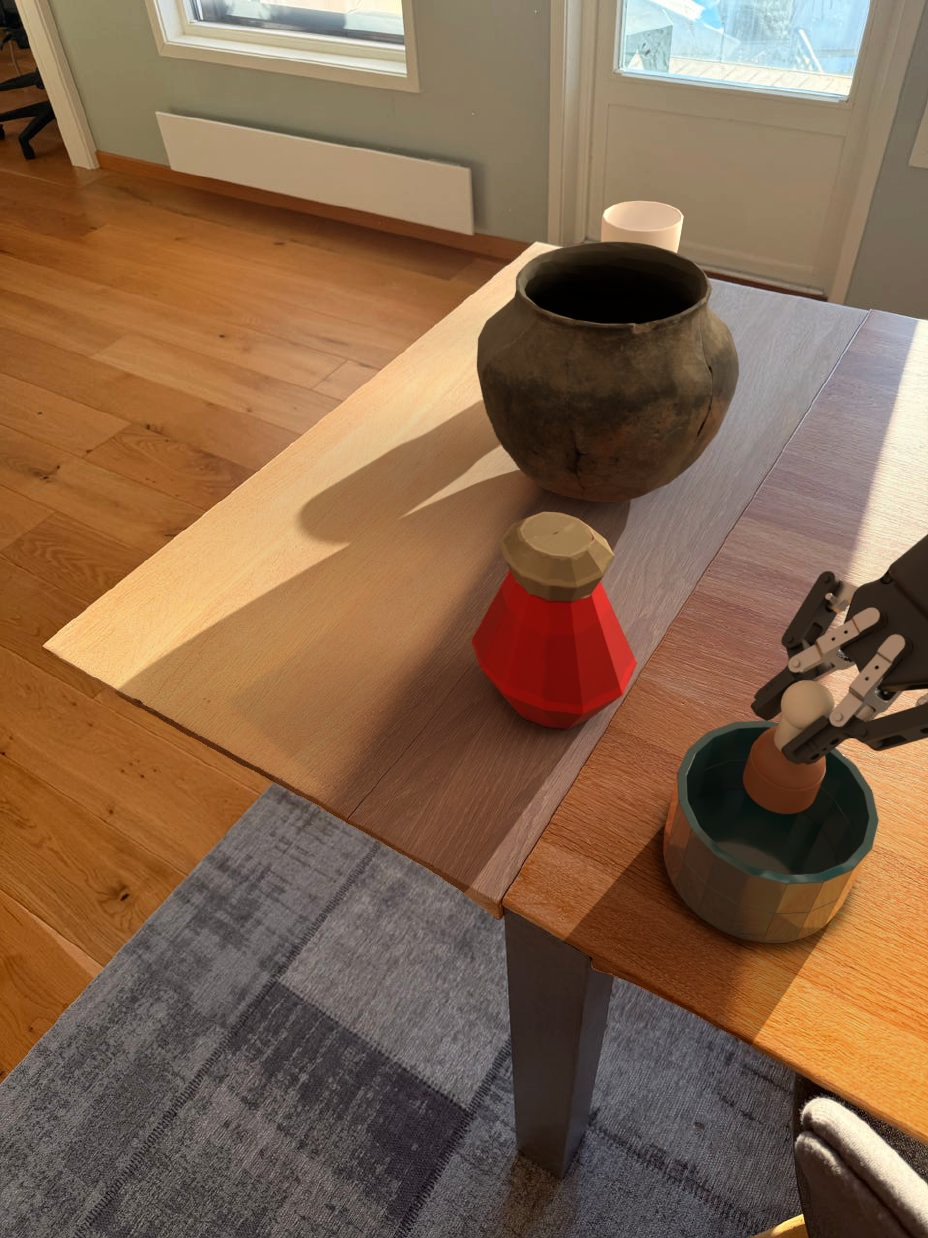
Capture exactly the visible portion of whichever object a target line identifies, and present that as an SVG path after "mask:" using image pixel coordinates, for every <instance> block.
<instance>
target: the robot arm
mask: <svg viewBox="0 0 928 1238" xmlns="http://www.w3.org/2000/svg"><path fill="white" fill-rule="evenodd" d="M846 611H847V612H846ZM842 612H846V614H845V615H846V616H845V618H844V621H843V624H840V625H839V626H838V627H835V628H834V629H832V630H829V628H830V627H831V625H832V623H833V622H834V620H835V618H836V616H837V615H838V614H839V613H842ZM828 630H829V632H828ZM780 642H781V645H782V646H783V647H784V648H785V650H786V654H787V657H788V662H787V665H786V666H785V668H783V669H782V670H781V671H779V672H778V673H776V675H775V676H774V677H772V678H771V679H770V680H769V681H768V682H767V683H765V684H764V685H763V686H762V687H760V688H759V689H758V690H757V691H756V692H755V694H754V696H753V699H754V701H753V702H751V704H750V706H749V707H750V710H752V711H753V713H754V715H755V716H756V717H757V718H759V719H762V720H763V721H771V720H773V719H775V718H776V717H777V716H778V715H780V714H782V710H781V700H782V697H783V694H784V693H785V691H786V690H787V689H788V688H789V687H790V686H791V685H792V684H794V683H796V682H799V681H804V680H811V681H816V682H819V681H820V680H822V679H824V678H825V677H828V676H829V675H832V674H833V673H835V672H837V671H845V670H848V669H850V668H852V667H853V666H856V669H857V671H858V673H859V674H858V675H857V676H856V677H855V678H854V679H853V680H852V681H851V683H850V684H849V686H848V691H847V693H846V695H845V696H844V697H843V698H842V699H841V700H840V702H839V703H838V704H837V705H835V709H834V710H833V711H832V712H831V714H830V717H829V718H827V717H825V716H823V715H822V716H821V717H820V718H819V719H817V720H816V721H815V722H814V723H812V724H811V725H810V726H808V727H807V728H806V729H805V730H803V731H802V732H801V733H800V734H798V735H797V736H796V737H794V738H793V739H792V740H791V741H789V742H788V743H787V744H786V745H784V746H783V747H782V749H781V752H782V753H783V755H784V756H785V757H786V759H787V760H789V761H791V762H793V763H794V764H797V765H799V764H802V763H805V764H807V765H809V764H813V763H816V762H817V761H818V760H820V759H821V758H822V757H824V756H825V755H826V754H827V753H829V752H830V751H832V750H833V749H834V748H837V747H839V746H840V745H841V744H842V743H844V742H845V741H846V740H850V739H854V740H856V741H858V742H859V743H862V744H864V745H865V746H867V747H869V749H871V750H873V751H875V752H882V751H886V750H890V749H893V748H896V747H900V746H904V745H908V744H911V743H915V742H918V741H922V740H925V739H928V692H927V693H925V694H924V695H922V696H920V697H919V698H918V699H917V700H916V702H915V706H913V707H910V708H907V709H903V710H900V711H896V712H893V713H890V714H886V715H883V716H880V717H877V716H878V715H880V714H883V713H885V712H886V711H887V710H888V709H889V708H890V707H891V706H892V705H893V704H894V702H895V701H896V700H897V699H898V698H899V697H900V696H901V694H902V693H904V692H909V691H921V690H928V533H927V534H926V535H924V536H923V537H922V538H921V539H919V541H917V542H916V543H915V544H914V545H912V546H911V547H910V548H909V549H907V551H905V552H904V553H903V554H902V555H901V556H899V557H898V558H897V559H896V560H894V561H893V562H892V563H891V564H890V565H889V566H888V568H887V570H886V571H885V573H884V574H883V575H882V576H881V577H879V578H877V579H876V580H873V581H870V582H866V583H863V584H861V585H860V586H857V585H854V584H851V583H849V582H847V581H845V580H842V579H841V578H840V577H839V576H838V575H836V574H835V573H834V572H833V571H830V570H825V571H823V572H821V573H820V574H819V576H818V577H817V578H816V580H815V582H814V584H813V586H812V587H811V589H810V590H809V592H808V593H807V595H806V597H805V598H804V600H803V602H802V604H801V605H800V607H799V608H798V610H797V612H796V613H795V615H794V617H793V618H792V619H791V622H790V623H789V625H788V626H787V628H786V630H785V631H784V633H783V635H782V637H781V641H780Z"/></svg>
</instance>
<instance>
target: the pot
mask: <svg viewBox="0 0 928 1238" xmlns="http://www.w3.org/2000/svg"><path fill="white" fill-rule="evenodd" d="M712 291H713V286H712V283H711V281H710V278H709V277H708V276H707V274H706V273H705V272H704V270H703V269H702V268H701V267H700V265H698V264H697V263H695V262H694V261H692V260H691V259H689V258H688V257H686V256H685V255H682V254H680V253H678V252H677V253H675V252H673V251H670V250H667V249H663V248H660V247H656V246H652V245H647V244H642V243H633V242H610V241H607V242H601V241H597V242H596V241H595V242H585V243H579V244H572V245H567V246H563V247H558V248H556V249H553V250H550V251H546V252H544V253H540V254H539V255H537V256H535V257H534V258H531V259H530V260H529V261H528V262H527V263H526V264H524V266H523V267H522V268H521V269H520V270H519V271H518V273H517V275H516V277H515V292H514V295H513V297H512V298H511V299H510V300H509V301H508V302H507V303H506V304H505V305H504V306H502V307H501V308H500V309H499V310H497V311H496V312H494V314H493V315H492V316H490V317H489V318H488V319H487V320H486V321H485V323H484V325H483V327H482V329H481V331H480V333H479V336H478V337H477V348H476V350H477V353H476V373H477V377H478V382H479V386H480V391H481V396H482V401H483V405H484V409H485V412H486V415H487V418H488V419H489V422H490V424H491V426H492V430H493V431H494V435H495V437H496V439H497V440H498V442H499V444H500V446H501V447H502V449H503V450H504V451H505V452H506V453H507V454H508V455H509V457H510V458H511V459H512V461H513V462H514V463H515V465H516V467H517V468H518V469H519V470H520V471H521V473H523V474H524V475H525V476H526V477H527V478H528V479H529V480H530V481H531V482H533V483H535V484H536V485H538V486H540V487H542V488H543V489H545V490H547V491H550V492H552V493H555V494H556V495H559V496H563V497H568V498H572V499H577V500H578V499H579V500H582V501H583V500H584V501H589V502H596V503H615V502H616V503H617V502H624V501H629V500H636V499H638V498H640V497H642V496H645V495H647V494H650V493H651V492H653V491H655V490H657V489H659V488H662V487H665V486H667V485H669V484H670V483H672V482H673V481H675V480H676V479H677V478H678V477H679V476H681V475H682V474H684V473H685V472H686V471H687V470H688V469H689V468H690V467H691V466H692V465H694V463H695V462H696V461H697V460H698V459H699V458H700V457H701V456H702V454H703V453H704V452H705V451H706V450H707V448H708V447H709V445H710V444H711V443H712V441H713V440H714V439H715V437H716V436H717V434H718V433H719V431H720V428H721V426H722V424H723V422H724V420H725V417H726V416H727V414H728V411H729V409H730V406H731V404H732V401H733V398H734V396H735V394H736V391H737V390H736V389H737V385H738V380H739V376H740V366H739V365H740V362H739V356H738V351H737V348H736V344H735V341H734V337H733V334H732V333H731V331H730V328H729V326H728V325H727V324H726V323H725V322H724V321H723V320H722V319H721V318H719V316H718V315H716V314H715V312H713V310H711V309H710V308H709V301H710V297H711V294H712Z"/></svg>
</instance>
